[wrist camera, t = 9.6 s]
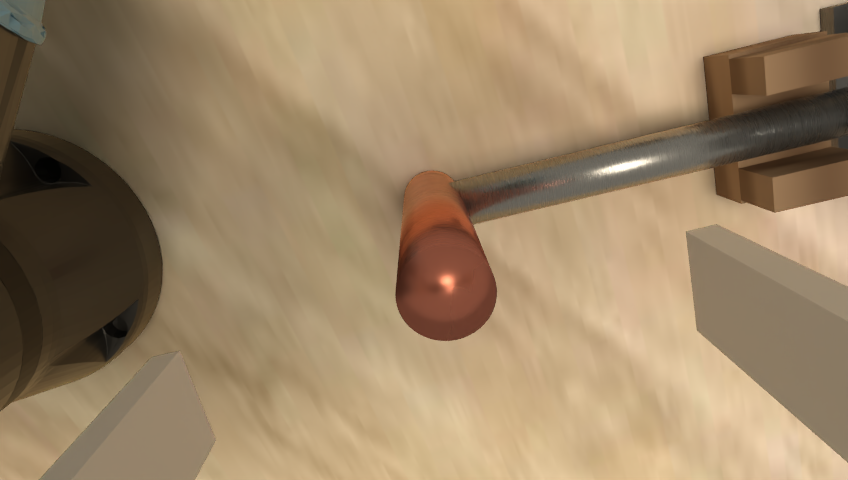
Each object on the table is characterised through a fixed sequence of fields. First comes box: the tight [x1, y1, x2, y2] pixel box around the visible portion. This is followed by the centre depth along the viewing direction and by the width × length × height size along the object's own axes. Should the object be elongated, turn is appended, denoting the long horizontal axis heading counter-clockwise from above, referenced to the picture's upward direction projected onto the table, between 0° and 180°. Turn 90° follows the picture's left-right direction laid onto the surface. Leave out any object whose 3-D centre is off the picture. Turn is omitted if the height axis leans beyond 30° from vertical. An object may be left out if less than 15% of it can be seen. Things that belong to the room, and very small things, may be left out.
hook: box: [396, 87, 848, 341], centre depth 24 cm, size 24×3×15 cm, turn 104°
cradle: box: [703, 31, 848, 213], centre depth 29 cm, size 5×8×6 cm, turn 13°
